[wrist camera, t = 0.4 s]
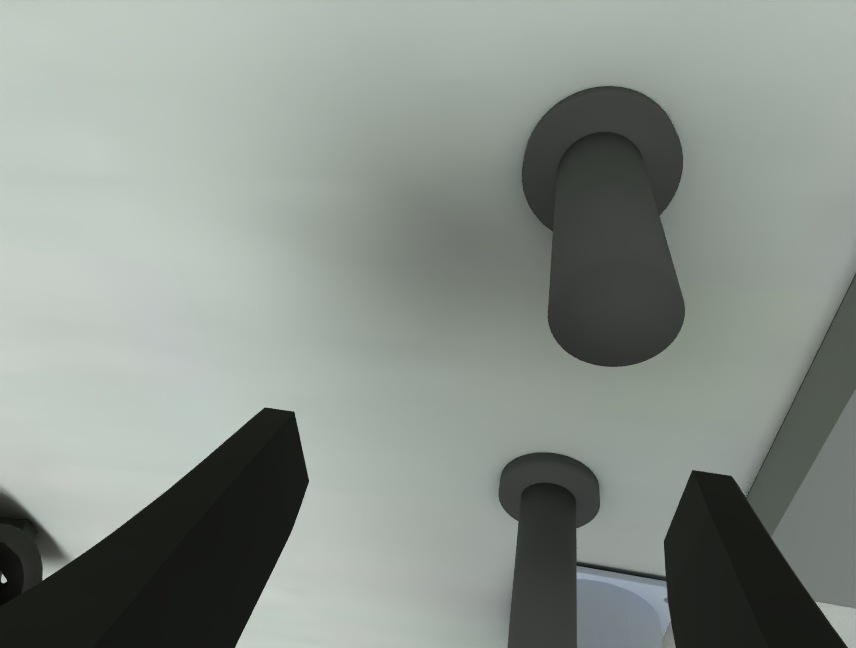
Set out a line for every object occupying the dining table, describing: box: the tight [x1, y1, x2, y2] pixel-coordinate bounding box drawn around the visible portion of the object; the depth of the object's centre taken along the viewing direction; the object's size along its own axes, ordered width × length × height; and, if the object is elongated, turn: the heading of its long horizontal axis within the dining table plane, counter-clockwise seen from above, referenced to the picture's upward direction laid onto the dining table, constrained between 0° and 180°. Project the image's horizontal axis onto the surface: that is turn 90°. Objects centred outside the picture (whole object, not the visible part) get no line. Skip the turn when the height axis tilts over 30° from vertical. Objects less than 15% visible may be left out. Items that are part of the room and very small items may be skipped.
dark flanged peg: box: [522, 86, 685, 367], centre depth 13 cm, size 4×4×8 cm
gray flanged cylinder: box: [499, 453, 600, 648], centre depth 22 cm, size 4×4×8 cm
